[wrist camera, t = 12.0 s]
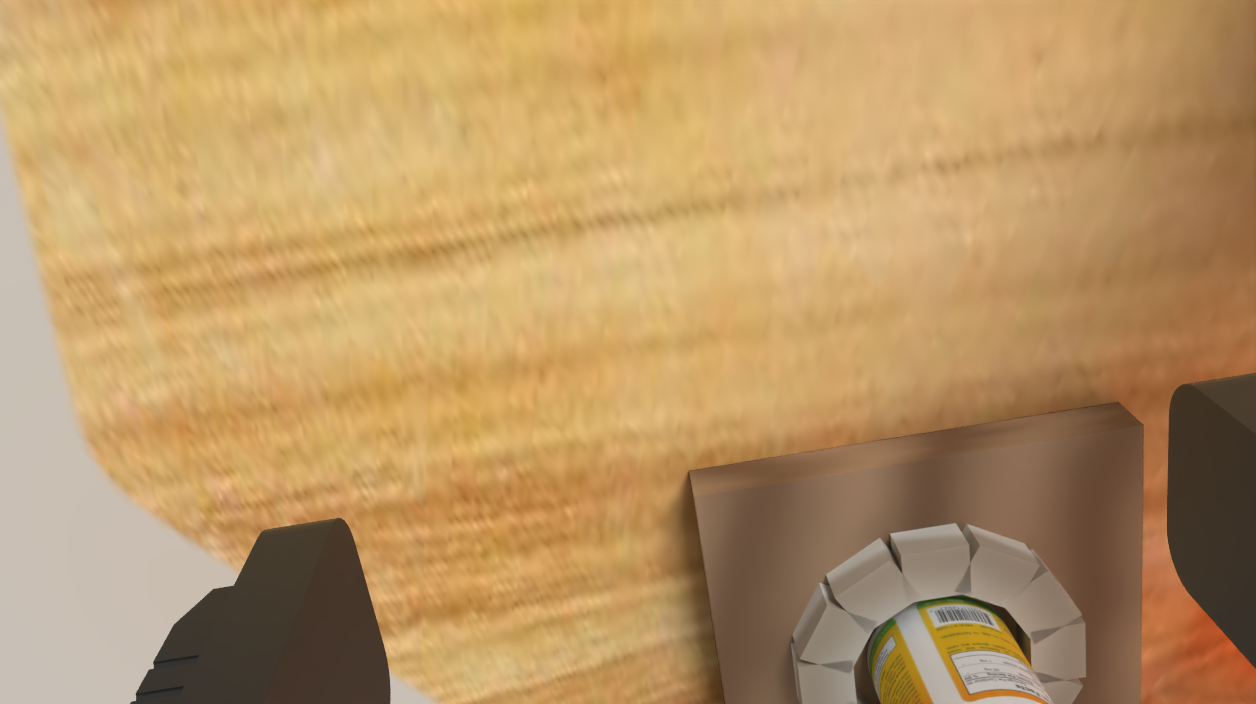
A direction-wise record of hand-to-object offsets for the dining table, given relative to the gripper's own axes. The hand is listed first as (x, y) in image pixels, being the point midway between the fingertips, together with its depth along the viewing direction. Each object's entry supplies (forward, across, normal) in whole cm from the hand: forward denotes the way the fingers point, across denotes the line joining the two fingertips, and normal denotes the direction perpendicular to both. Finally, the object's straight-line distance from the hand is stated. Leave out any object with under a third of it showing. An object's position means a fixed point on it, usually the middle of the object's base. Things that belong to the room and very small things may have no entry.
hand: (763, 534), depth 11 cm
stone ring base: (+28, -8, +22) cm, 37 cm away
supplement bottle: (+26, -8, +22) cm, 35 cm away
